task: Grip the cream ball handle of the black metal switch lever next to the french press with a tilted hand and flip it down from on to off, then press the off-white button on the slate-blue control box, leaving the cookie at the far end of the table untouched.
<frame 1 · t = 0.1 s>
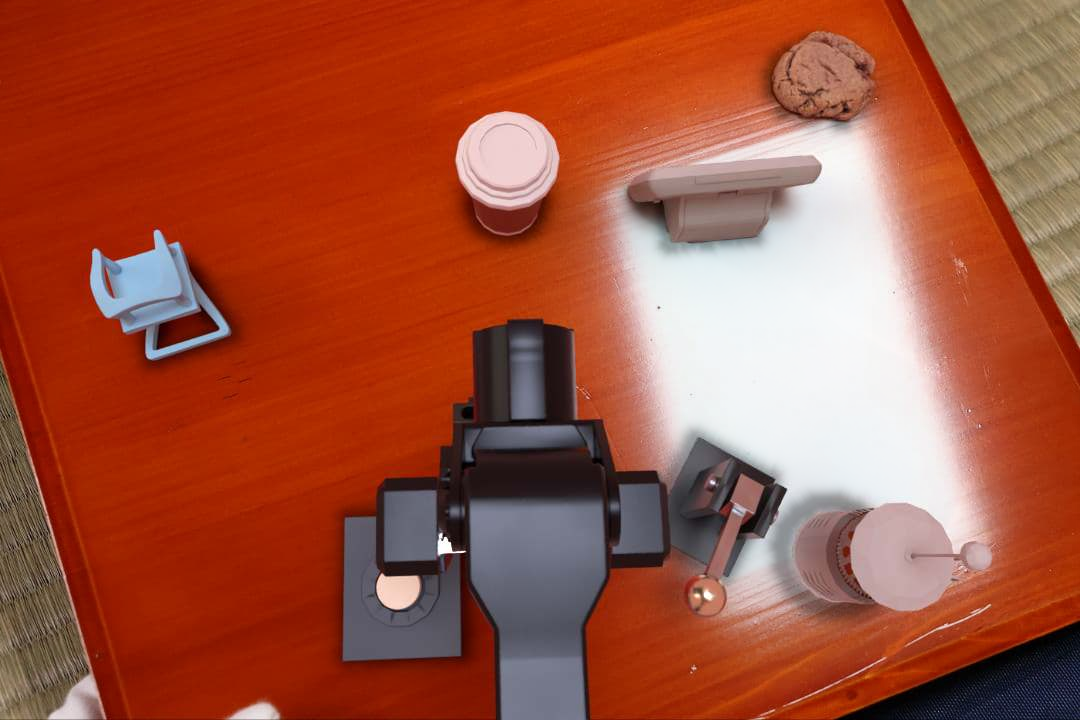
hand: (520, 526, 64), 15 cm above the table, tool pointing down, fingers open, 9 cm apart
chair: (181, 309, 82), on the table
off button: (399, 586, 73), point 4 cm above the table, slide at 0.1 cm
switch bracket: (710, 506, 80), on the table
digital clock: (706, 203, 87), on the table
control box: (404, 584, 77), on the table
switch lever: (723, 546, 67), point 12 cm above the table, hinge at 22.0°
coffee cup: (506, 205, 86), on the table
cookie: (819, 84, 90), on the table
french press: (842, 557, 80), on the table
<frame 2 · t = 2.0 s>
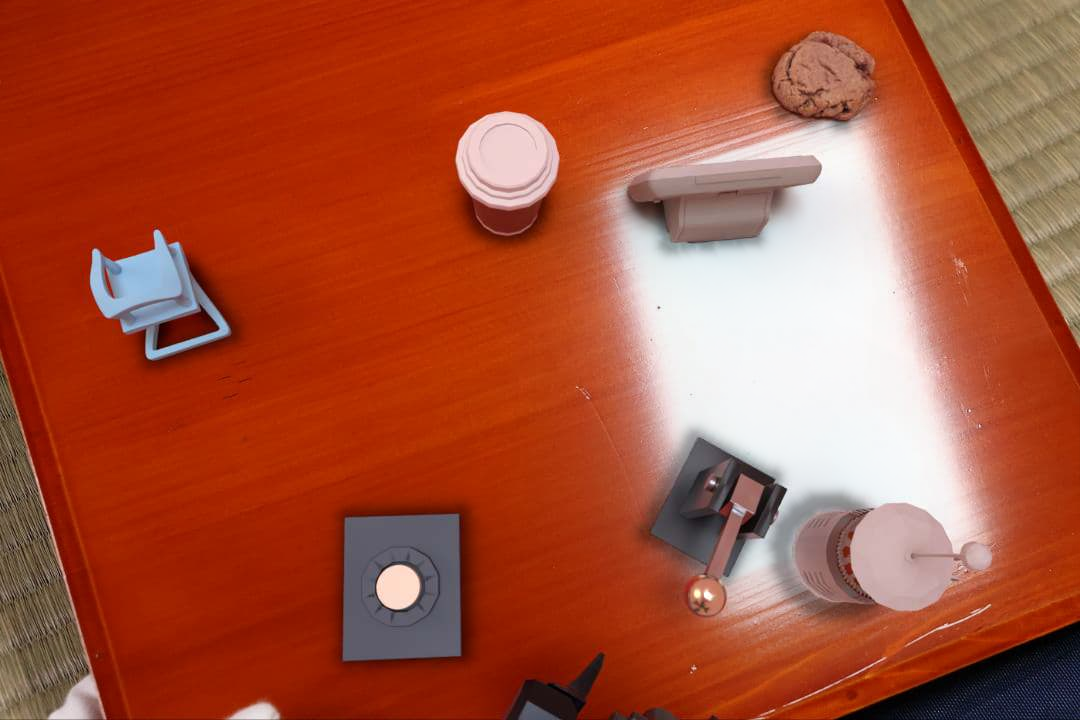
hand: (655, 687, 63), 13 cm above the table, tool tilted 45°, fingers open, 9 cm apart
nothing on the table moved.
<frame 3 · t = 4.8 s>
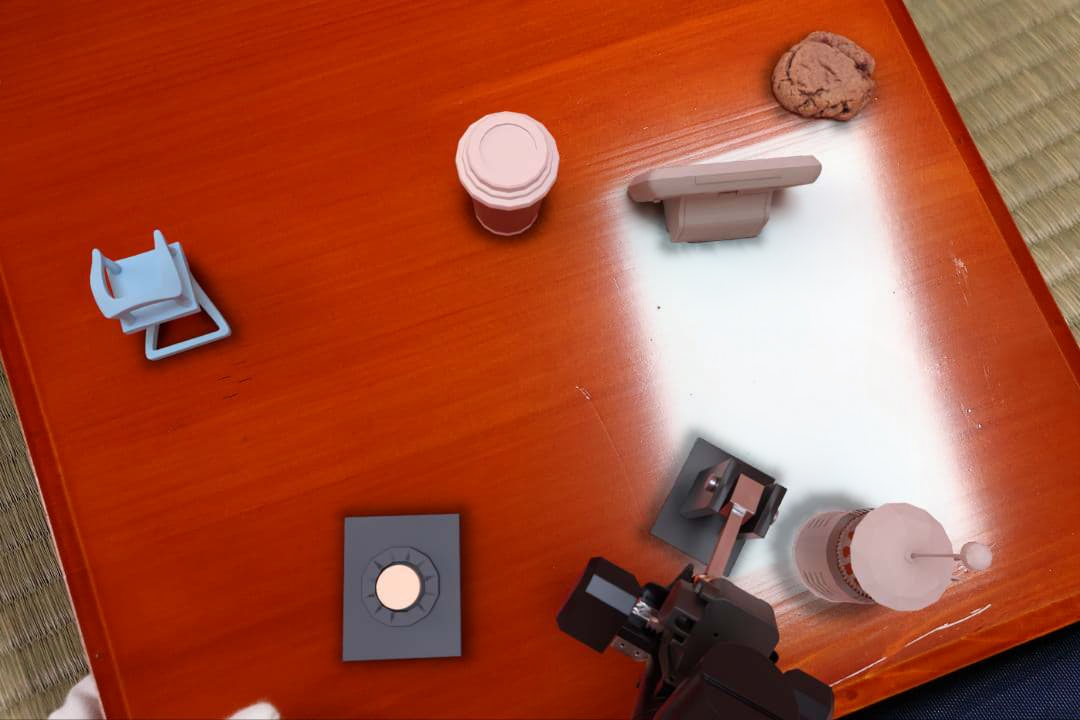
hand: (709, 578, 66), 12 cm above the table, tool tilted 45°, fingers closed on switch lever, 3 cm apart
switch lever: (723, 546, 67), point 12 cm above the table, hinge at 22.0°, touching gripper
everything else where it was.
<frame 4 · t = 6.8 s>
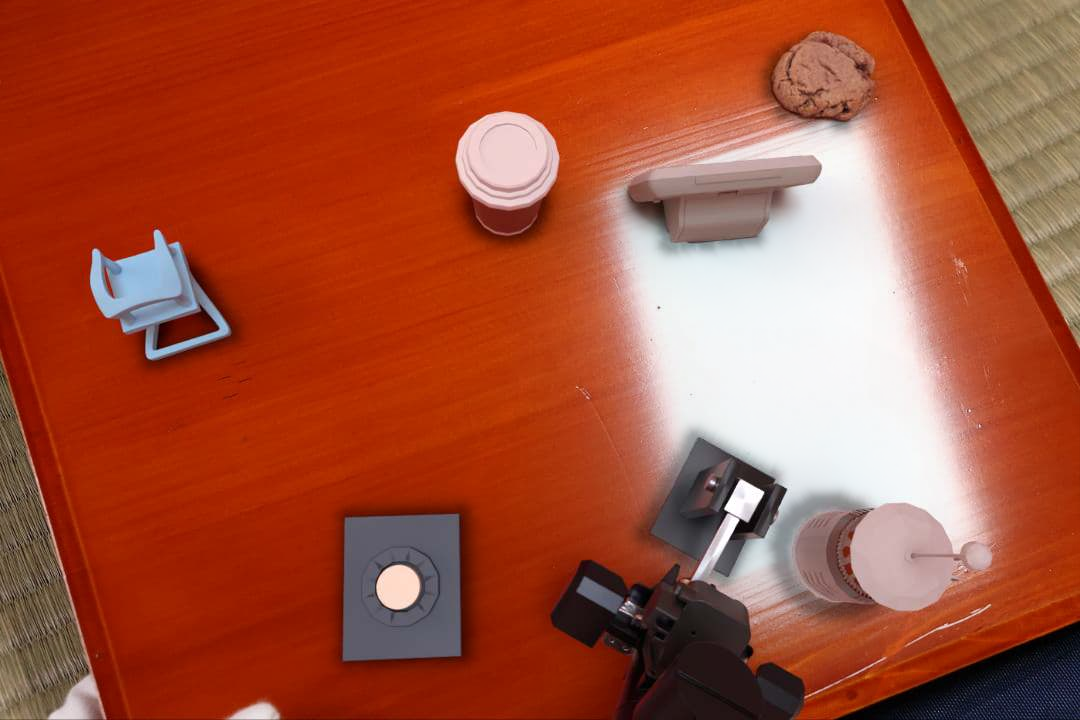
hand: (693, 577, 71), 7 cm above the table, tool tilted 45°, fingers closed on switch lever, 3 cm apart
switch lever: (714, 549, 69), point 10 cm above the table, hinge at -10.4°, touching gripper
everything else where it was.
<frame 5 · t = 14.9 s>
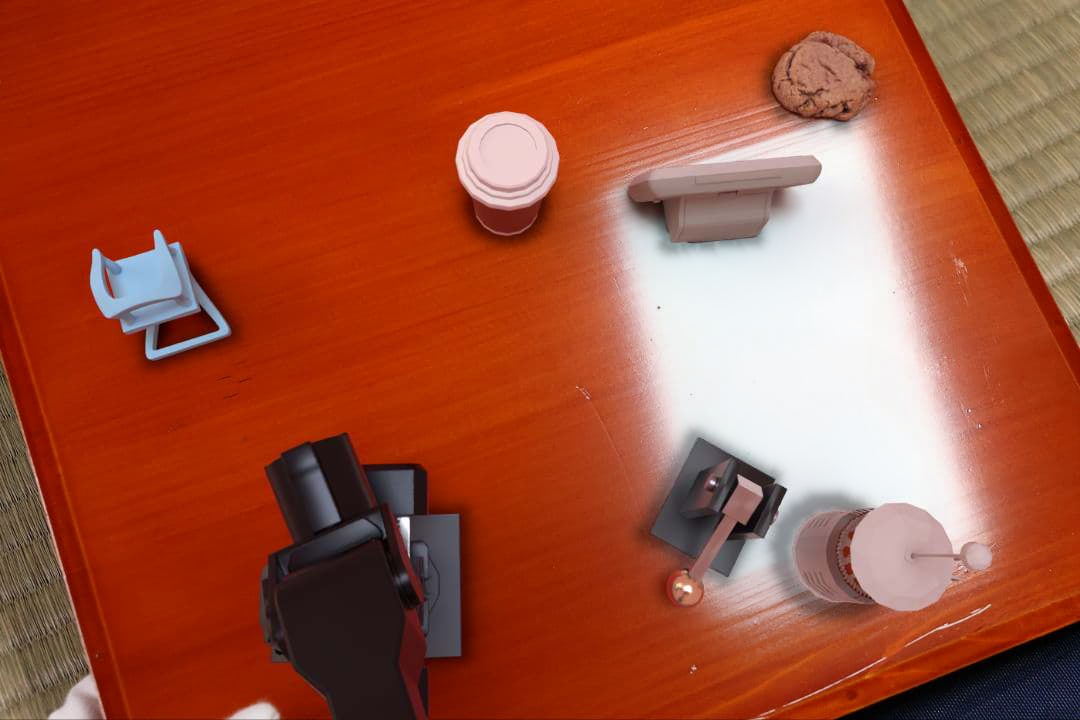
hand: (399, 587, 72), 5 cm above the table, tool pointing down, fingers closed, pressing on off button
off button: (400, 586, 73), point 4 cm above the table, slide at -0.4 cm, touching gripper
switch lever: (712, 545, 71), point 8 cm above the table, hinge at -26.4°
everything else where it was.
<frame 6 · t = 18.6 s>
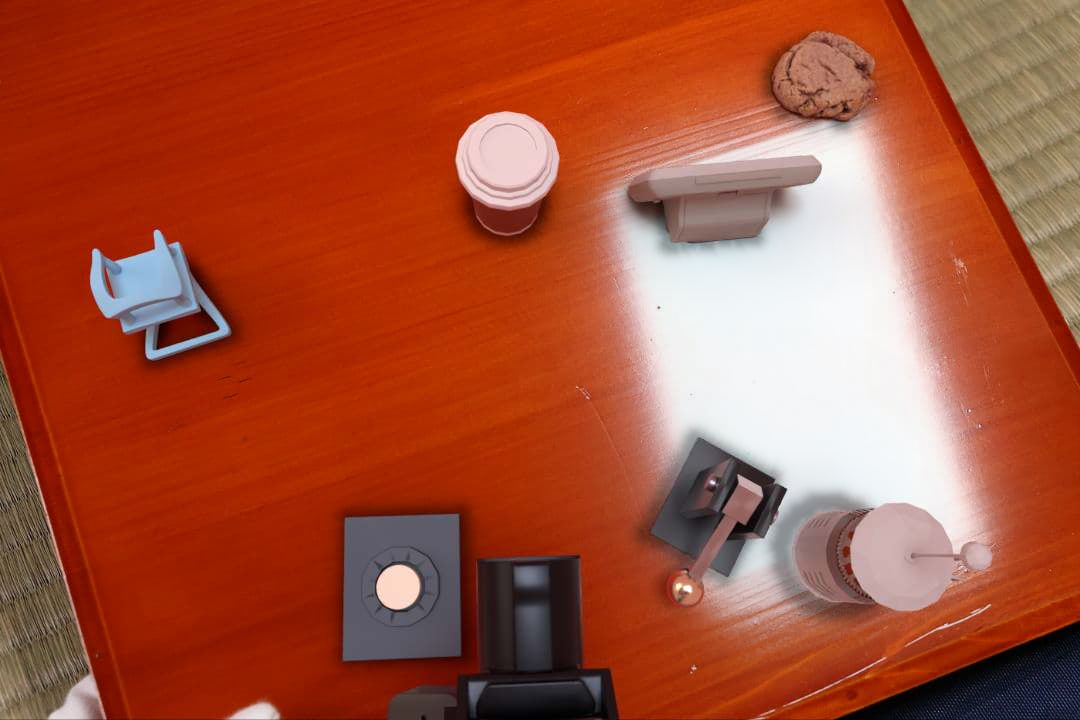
hand: (524, 698, 63), 13 cm above the table, tool pointing down, fingers closed
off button: (399, 586, 73), point 4 cm above the table, slide at 0.1 cm
everything else where it was.
at the end: switch lever at -26° (first picture: +22°); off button pushed in 0.9 cm at the most during the clip, back to where it started at the end; cookie 48.1 cm from the french press (horizontally) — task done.
